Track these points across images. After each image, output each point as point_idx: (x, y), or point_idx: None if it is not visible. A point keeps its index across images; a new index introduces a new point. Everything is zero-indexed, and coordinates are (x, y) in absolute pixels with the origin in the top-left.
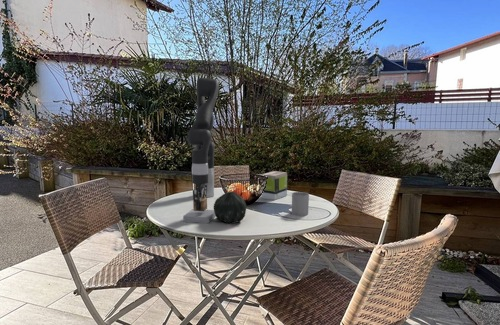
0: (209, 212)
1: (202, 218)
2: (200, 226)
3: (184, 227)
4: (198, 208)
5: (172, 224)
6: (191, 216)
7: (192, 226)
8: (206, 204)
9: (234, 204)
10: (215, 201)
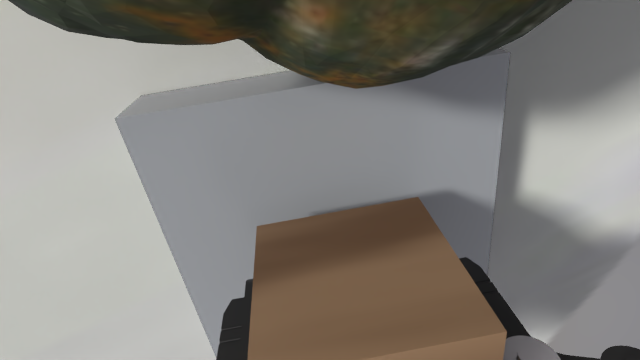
0: (271, 158)
1: (494, 135)
2: (591, 79)
3: (616, 200)
4: (480, 277)
5: (542, 307)
6: (487, 258)
7: (590, 153)
8: (291, 269)
9: None
10: (505, 34)
